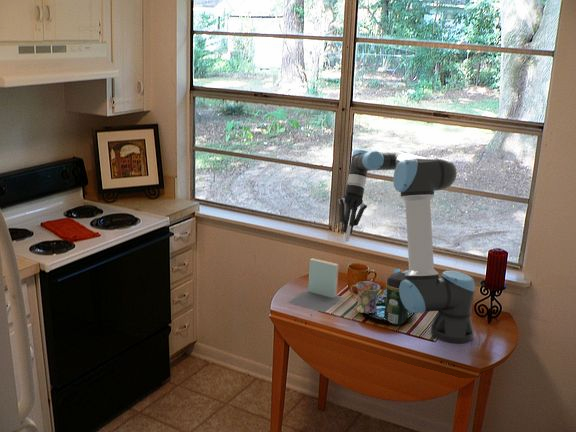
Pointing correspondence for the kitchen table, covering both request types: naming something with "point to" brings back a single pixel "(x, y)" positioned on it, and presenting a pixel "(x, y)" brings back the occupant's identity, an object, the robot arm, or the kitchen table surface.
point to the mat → (315, 301)
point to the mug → (366, 296)
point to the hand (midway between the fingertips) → (345, 240)
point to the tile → (323, 277)
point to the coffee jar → (395, 300)
